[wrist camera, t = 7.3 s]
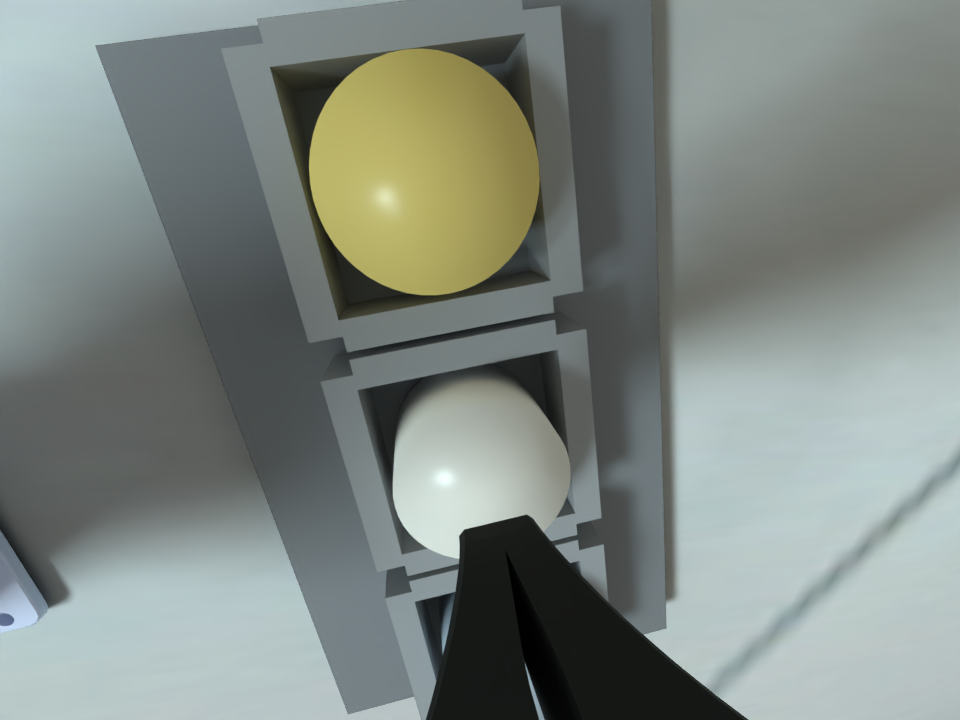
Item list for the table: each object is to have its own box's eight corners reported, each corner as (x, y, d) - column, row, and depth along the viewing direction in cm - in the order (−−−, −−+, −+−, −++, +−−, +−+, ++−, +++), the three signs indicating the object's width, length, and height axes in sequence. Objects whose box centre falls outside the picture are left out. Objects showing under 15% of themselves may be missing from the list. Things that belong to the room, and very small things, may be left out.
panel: (351, 688, 18) (340, 775, 15) (122, 60, 11) (22, 6, 8) (653, 608, 19) (695, 675, 17) (631, -5, 12) (700, -72, 9)
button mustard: (358, 289, 12) (343, 313, 9) (311, 105, 11) (277, 66, 8) (517, 260, 12) (550, 274, 10) (494, 79, 11) (525, 33, 8)
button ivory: (412, 505, 14) (413, 577, 11) (380, 378, 13) (373, 425, 10) (544, 474, 15) (577, 537, 12) (528, 349, 13) (562, 385, 10)
